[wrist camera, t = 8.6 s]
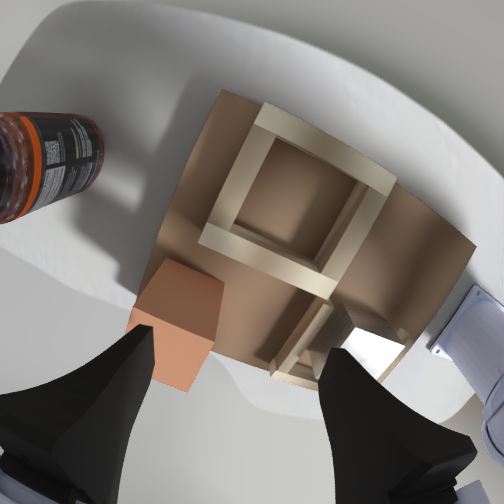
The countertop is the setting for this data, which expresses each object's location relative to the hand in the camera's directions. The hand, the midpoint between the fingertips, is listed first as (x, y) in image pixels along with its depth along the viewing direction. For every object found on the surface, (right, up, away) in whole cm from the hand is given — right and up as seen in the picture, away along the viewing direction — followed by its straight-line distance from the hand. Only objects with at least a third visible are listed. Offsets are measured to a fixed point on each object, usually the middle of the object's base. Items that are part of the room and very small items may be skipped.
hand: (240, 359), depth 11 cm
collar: (+3, +7, +5) cm, 9 cm away
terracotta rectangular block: (-4, +1, +8) cm, 9 cm away
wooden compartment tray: (+5, +3, +10) cm, 11 cm away
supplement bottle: (-13, +11, +7) cm, 18 cm away
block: (+8, -2, +9) cm, 12 cm away
